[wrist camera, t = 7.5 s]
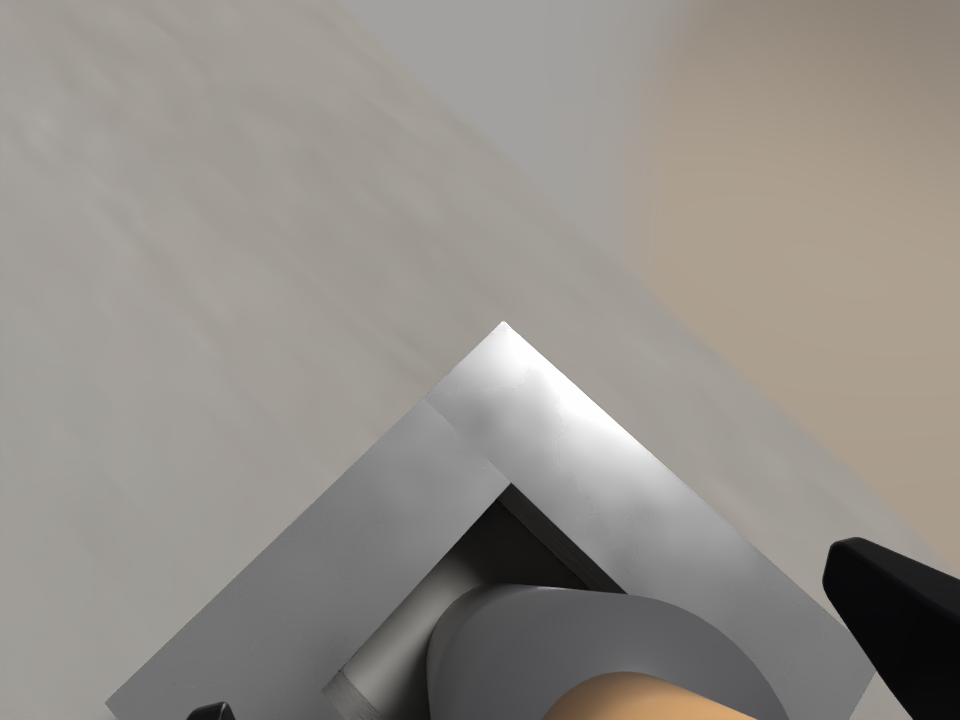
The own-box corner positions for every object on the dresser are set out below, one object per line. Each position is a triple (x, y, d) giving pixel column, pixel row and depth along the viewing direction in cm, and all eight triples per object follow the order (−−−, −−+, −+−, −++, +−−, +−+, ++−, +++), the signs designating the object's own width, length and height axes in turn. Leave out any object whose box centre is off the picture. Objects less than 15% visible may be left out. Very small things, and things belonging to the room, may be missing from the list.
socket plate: (802, 646, 16) (881, 661, 14) (519, 1100, 13) (548, 1251, 10) (489, 359, 18) (503, 320, 16) (164, 678, 15) (104, 702, 12)
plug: (605, 658, 16) (1145, 897, 4) (507, 791, 15) (880, 1684, 3) (497, 551, 16) (697, 495, 5) (393, 669, 15) (319, 985, 4)
